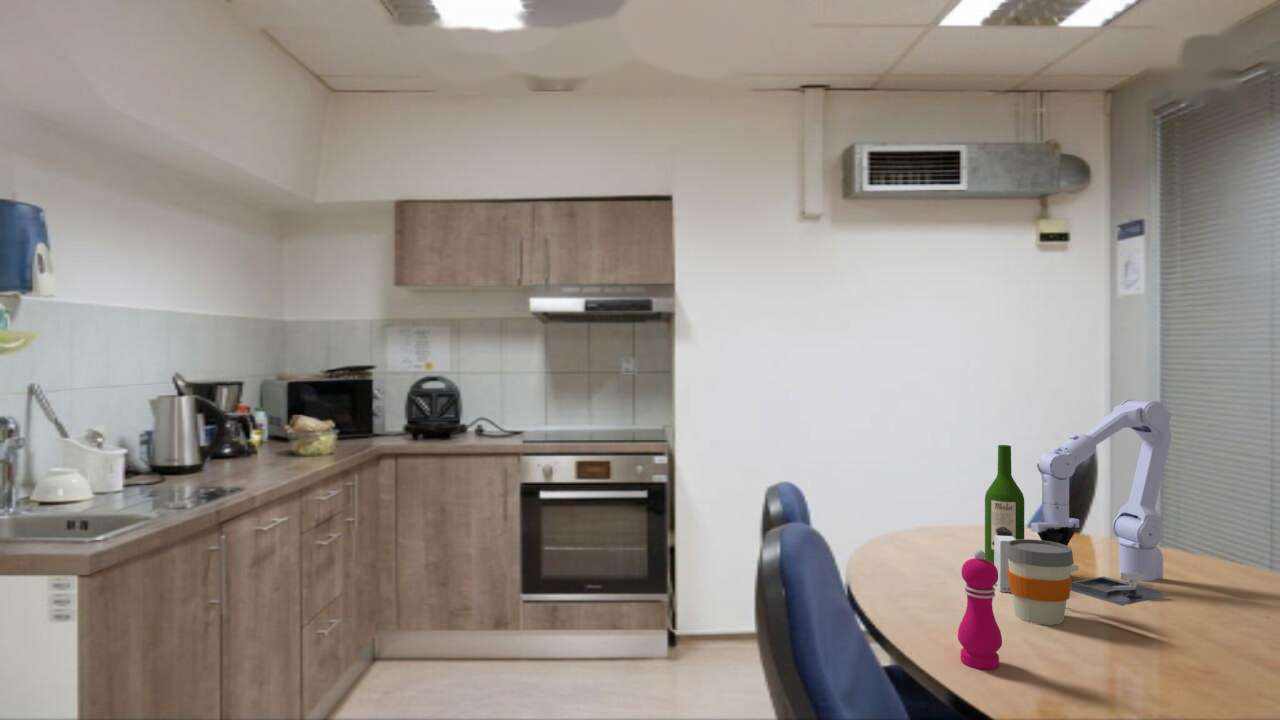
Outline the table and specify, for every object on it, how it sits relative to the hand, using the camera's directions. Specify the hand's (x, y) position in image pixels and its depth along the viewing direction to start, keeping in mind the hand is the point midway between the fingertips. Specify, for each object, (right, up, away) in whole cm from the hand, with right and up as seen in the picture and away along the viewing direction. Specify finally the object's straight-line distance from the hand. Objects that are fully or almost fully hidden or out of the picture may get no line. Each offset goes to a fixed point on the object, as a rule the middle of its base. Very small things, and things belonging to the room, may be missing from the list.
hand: (1055, 559), depth 184 cm
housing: (+8, -6, -10) cm, 14 cm away
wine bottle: (-9, -6, +6) cm, 13 cm away
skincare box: (-14, -6, -5) cm, 16 cm away
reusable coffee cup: (-17, -6, -25) cm, 31 cm away
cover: (0, -3, 0) cm, 3 cm away
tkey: (+9, -4, -14) cm, 17 cm away
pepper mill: (-40, -6, -49) cm, 64 cm away
